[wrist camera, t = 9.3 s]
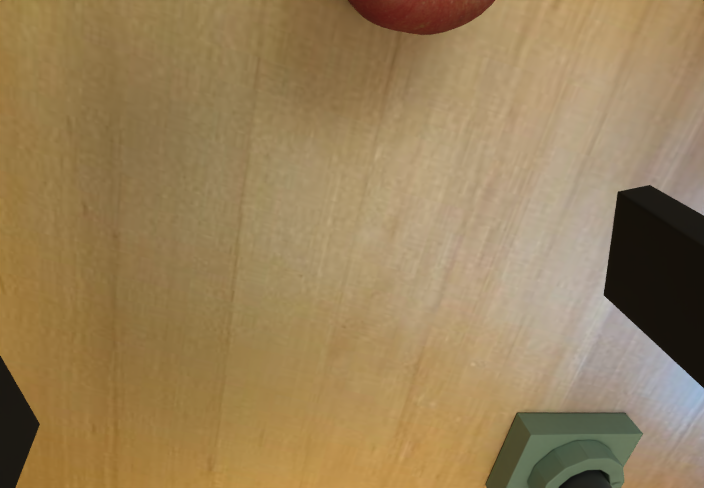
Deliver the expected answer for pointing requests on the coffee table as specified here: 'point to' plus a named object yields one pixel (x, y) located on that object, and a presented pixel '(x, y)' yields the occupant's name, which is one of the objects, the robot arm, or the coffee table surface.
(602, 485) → the button
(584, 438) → the button box
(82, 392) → the coffee table surface
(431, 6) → the apple
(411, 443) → the coffee table surface
